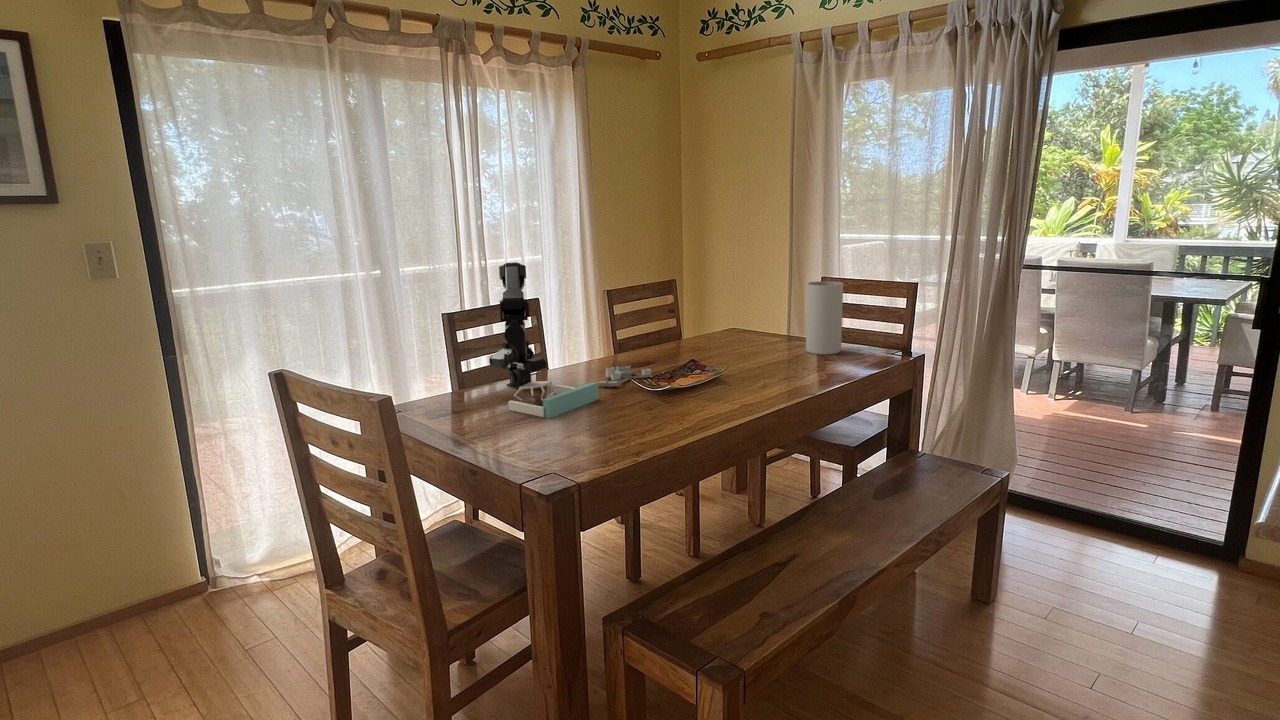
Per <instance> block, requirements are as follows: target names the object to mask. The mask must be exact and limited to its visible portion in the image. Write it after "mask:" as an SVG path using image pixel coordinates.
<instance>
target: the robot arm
mask: <svg viewBox="0 0 1280 720" xmlns="http://www.w3.org/2000/svg"><path fill="white" fill-rule="evenodd" d="M498 270H499V272H498V273H499V279H500V281H502V286H503V288H504V289H505V291H503V292H502V293H501V300H499V311H500V312H499V313H500V322H502V323H503V322H504V327H505V328H504V340H505V341H504V342H503V343H502V349H500V350H498V351H497V352H495V353H494V354H491V355H490V357H489V360H488V361H489V365H490V366H493V367H494V368H500V369H501V370H505V371H507V372H508V374H509V383H506V386H507V387H513V388H516V390H517V391H518V389H519V387H520V386H523V385H525V384H528V383H530V382H532V374H531V372H537V371H539V370H543V369H548V363H547V362H548V361H547V360H546V359H545V358H543V357H535V352H534V351H533V349H532V347H530V341H529V340H528V338H527V337H526V322H525V321H528V320H529V319H528V318H530V305H529V304H530V303H529V302H528V299H527V298H525V297H524V291H523V289H524V287H525V286H526V285H525V282H526V281H525V279H527V266H526V264H525V265H524V264H521V263H520V262H518V261H517V262H515V261H514V262H505V263H503V264H502V265H501V266H498Z"/></svg>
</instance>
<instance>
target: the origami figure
mask: <svg viewBox="0 0 1280 720" xmlns="http://www.w3.org/2000/svg"><path fill="white" fill-rule="evenodd" d="M548 385H549V386H550V387H551V388H552V389H553V392H552V393H550V394H549V397H551V396H553V394H556V392H557V391H556V386H554V384H553V381H552V380H545V381H542V380H541V381H538V380H537V381H534V380H531V382H530V383H528V384H525V385H523V386H520V387H519V389H518V390H517V391H516V392H515V393H514V394H513V397H514V398H516V399H518V400H520V401H519V402H522V401H523V399H522V398H520V397H519V396H517V395H518V394H519V393H520V392H521V391H522V390H526V389H527V390H528V389H530V393H531V394H530V395H531V397H534V394H535V393H534V389H535V388H536V389H537V388H540V390H541V392H542V393H541V396H540V400H541V402H543V399H544V396H545V393H546V390H545V388H544V387H546V386H548Z"/></svg>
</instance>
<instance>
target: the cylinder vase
mask: <svg viewBox="0 0 1280 720" xmlns="http://www.w3.org/2000/svg"><path fill="white" fill-rule="evenodd" d="M843 295H844V283H843V282H841V281H829V280H821V281H810V282H807V283H806V318H805V319H806V323H805V324H806V325H805V327H806V328H805V331H806V332H805V338H806V339H805V350H806V352H807V353H809V354H813V355H823V356H824V355H836V354H839V353H840V352H841V351H842V333H843V329H842V328H843V301H844V300H843V299H844V298H843V297H844V296H843Z"/></svg>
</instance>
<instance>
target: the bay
mask: <svg viewBox="0 0 1280 720" xmlns="http://www.w3.org/2000/svg"><path fill="white" fill-rule="evenodd" d="M598 387H599V386H598V382H593V381H592V382H588V383H584V384H583V385H580V386H577V387H574V386H567V385H563V384H555V389H556V391H557V392H555V394H554V395H552V396H549V397H545V398H543V401H542V406H540V405H537V404H530V403H528V402H522V401H521V402H520V401H517V400H516V401H515V400H508V410H509V411H512V412H517V413H521V414H527V415H531V416H535V417H536V416H537V417H541V418H546V419H551V418H554V417H556V416H560V415H562V414H565V413H567V412H570V411H572V410H575V409H577V408H579V407H582V406H585V405H588V404H590V403H593V402H595V401H598V400H599V393H598V392H599V391H598V389H599V388H598Z"/></svg>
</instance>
